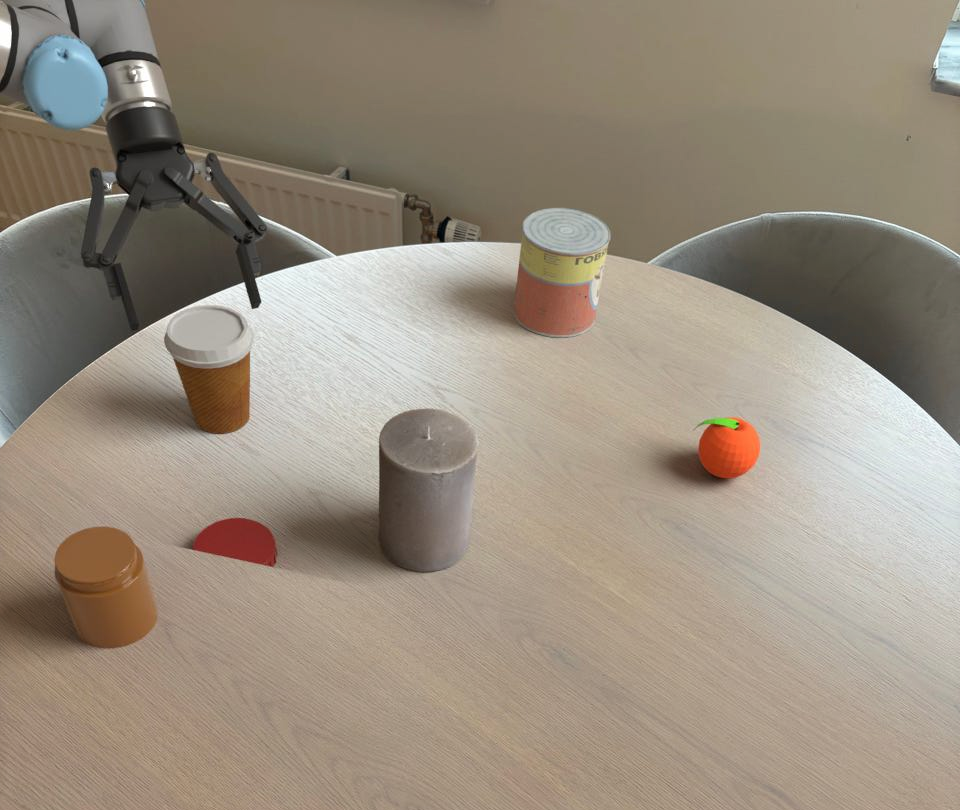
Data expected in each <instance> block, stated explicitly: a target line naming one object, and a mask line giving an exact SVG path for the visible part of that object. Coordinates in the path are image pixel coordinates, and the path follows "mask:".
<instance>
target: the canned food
mask: <svg viewBox="0 0 960 810" xmlns="http://www.w3.org/2000/svg"><path fill="white" fill-rule="evenodd" d="M521 231H522V232H521V240H520V241H521V242H520V250H519V262H518V268H517V271H518V272H517V279H516V286H515V287H516V288H515V295H514V296H515V297H514V304H513V308H512V309H513V310H512V312H513V316H514V318H515V320H516V321H517V322H518V323H519V324H520V325H521V327H523V328H525V329H527V330H528V331H530V332H532V333H534V334H537V335H540V336H544V337H549V338H558V339H560V338H563V339H564V338H572V337H576V336H580V335H582V334H584V333H586V332H588V331H589V330H591V329H592V327H594V325H595V322H596V318H597V315H596V314H597V310H598V309H597V308H598V303H599V299H600V298H599V297H600V293H601V287H602V281H603V276H604V270H605V264H606V259H607V254H608V249H609V242H610V241H611V231H610V228H609V226H608V225H607V224H606V223H605V222H604V221H603V220H602V219H600V218H599V217H597V216H595V215H593V214H591V213H588V212H586V211H583V210H579V209H574V208H568V207H549V208H543V209H539V210H537V211H534V212H532V213H530V214H529V215H527V216H526V217H525V218H524V220H523V222H522V225H521Z"/></svg>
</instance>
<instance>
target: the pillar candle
mask: <svg viewBox="0 0 960 810" xmlns="http://www.w3.org/2000/svg"><path fill="white" fill-rule="evenodd" d="M478 436H479V434H478V431H477V430H476V429H475V428H474V427H473V426H471V424H469V422H467V421H466V420H464V419H463V418H462V417H460V416H459V415H456V414H454V413H452V412H449V411H447V410H443V409H436V408H416V409H410V410H405V411H403V412H400V413H398V414H397V415H394V416H392V417H391V418H389V420H388V421H386V422H385V424H384V425H383V427H382V429H381V430H380V433H379V437H378V542H379V543H378V544H379V547H380V549H381V552H383V554H384V555H385V556H386V557H387V558H388V559H389V561H391V562H392V563H393V564H395V565H396V566H399V567H400V568H403V569H406V570H410V571H413V572H414V571H415V572H425V573H430V572H437V571H441V570H445V569H448V568H450V567H451V566H453V565H455V564H457V563H458V562H459V561H460V560H461V559H462V557H463V556H464V554H465V552H466V551H467V549H468V546H469V543H470V534H471V525H472V514H473V513H472V512H473V505H474V503H473V502H474V491H475V478H476V467H477V458H478V448H479V439H478Z"/></svg>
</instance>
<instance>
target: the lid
mask: <svg viewBox="0 0 960 810" xmlns="http://www.w3.org/2000/svg"><path fill="white" fill-rule="evenodd" d="M192 550H193V551H195V552H200V553H205V554H210V555H215V556H220V557H224V558H229V559H233V560H238V561H243V562H247V563H250V564H251V563H252V564H257V565H261V566H266V567H270V568H274V567H275V565H276V564H277V557H278V549H277V544H276V539H275V536H274V534H273V533H272V531H271V530H270V529H269V528H268V527H267V526H266V525H264V524H263V523H261V522H260V521H257V520H254V519H251V518H245V517H231V518H225V519H224V518H223V519H220V520H217V521H215V522H213V523H211V524H209V525H208V526H206V527H205V528H204V529H202V530H201V531H200V532H199V533H198V535H197V536H196V537H195V540H194V542H193V546H192Z"/></svg>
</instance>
